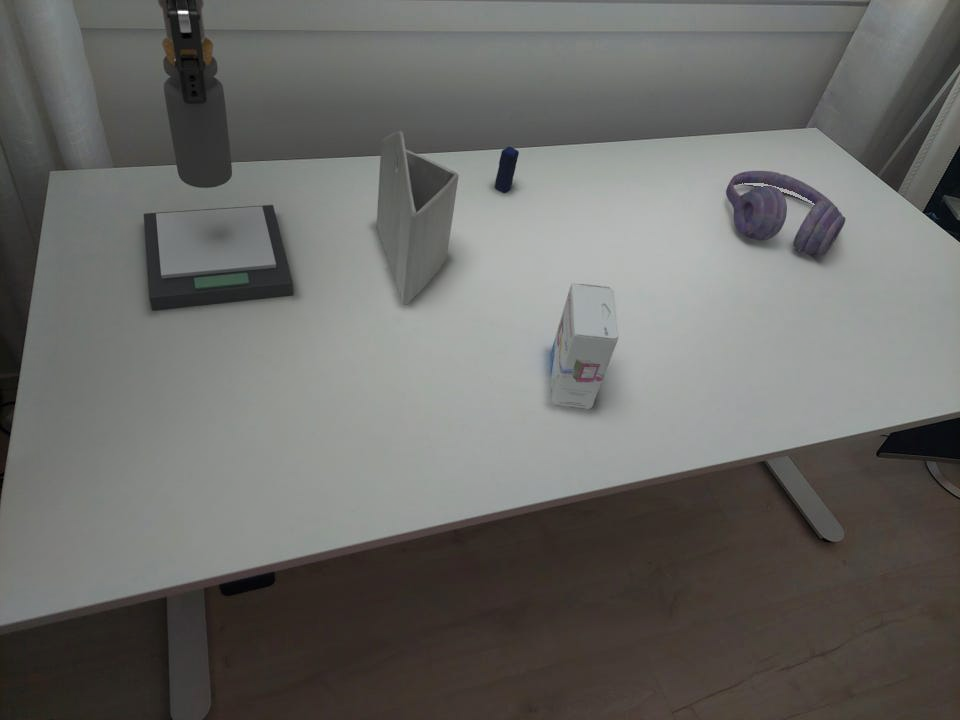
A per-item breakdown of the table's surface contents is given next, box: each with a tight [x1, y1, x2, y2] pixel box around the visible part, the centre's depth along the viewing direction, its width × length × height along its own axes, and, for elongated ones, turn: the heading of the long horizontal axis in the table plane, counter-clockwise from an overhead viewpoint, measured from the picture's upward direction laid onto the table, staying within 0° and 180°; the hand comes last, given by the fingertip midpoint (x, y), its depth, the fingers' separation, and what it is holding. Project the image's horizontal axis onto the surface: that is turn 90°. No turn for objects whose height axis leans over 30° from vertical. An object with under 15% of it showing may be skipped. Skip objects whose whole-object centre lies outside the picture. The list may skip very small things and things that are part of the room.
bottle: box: [161, 36, 233, 189], centre depth 76 cm, size 6×6×15 cm
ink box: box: [549, 282, 619, 410], centre depth 81 cm, size 9×5×12 cm, turn 178°
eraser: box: [494, 146, 520, 194], centre depth 109 cm, size 2×2×7 cm
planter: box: [375, 130, 460, 306], centre depth 89 cm, size 16×8×19 cm, turn 18°
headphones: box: [725, 170, 846, 256], centre depth 115 cm, size 18×8×20 cm
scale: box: [143, 204, 294, 312], centre depth 89 cm, size 16×16×3 cm
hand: (192, 86), depth 74 cm, fingers closed on bottle, 5 cm apart
